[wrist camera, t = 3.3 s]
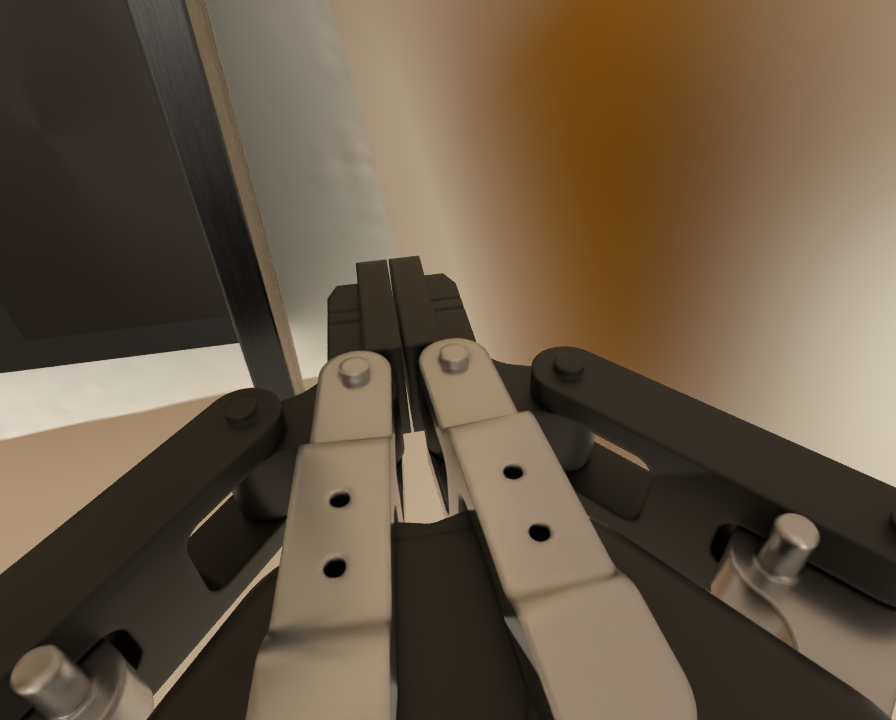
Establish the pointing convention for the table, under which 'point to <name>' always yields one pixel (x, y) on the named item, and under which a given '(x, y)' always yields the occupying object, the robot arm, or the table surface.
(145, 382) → the table surface
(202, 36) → the laptop screen
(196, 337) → the laptop
